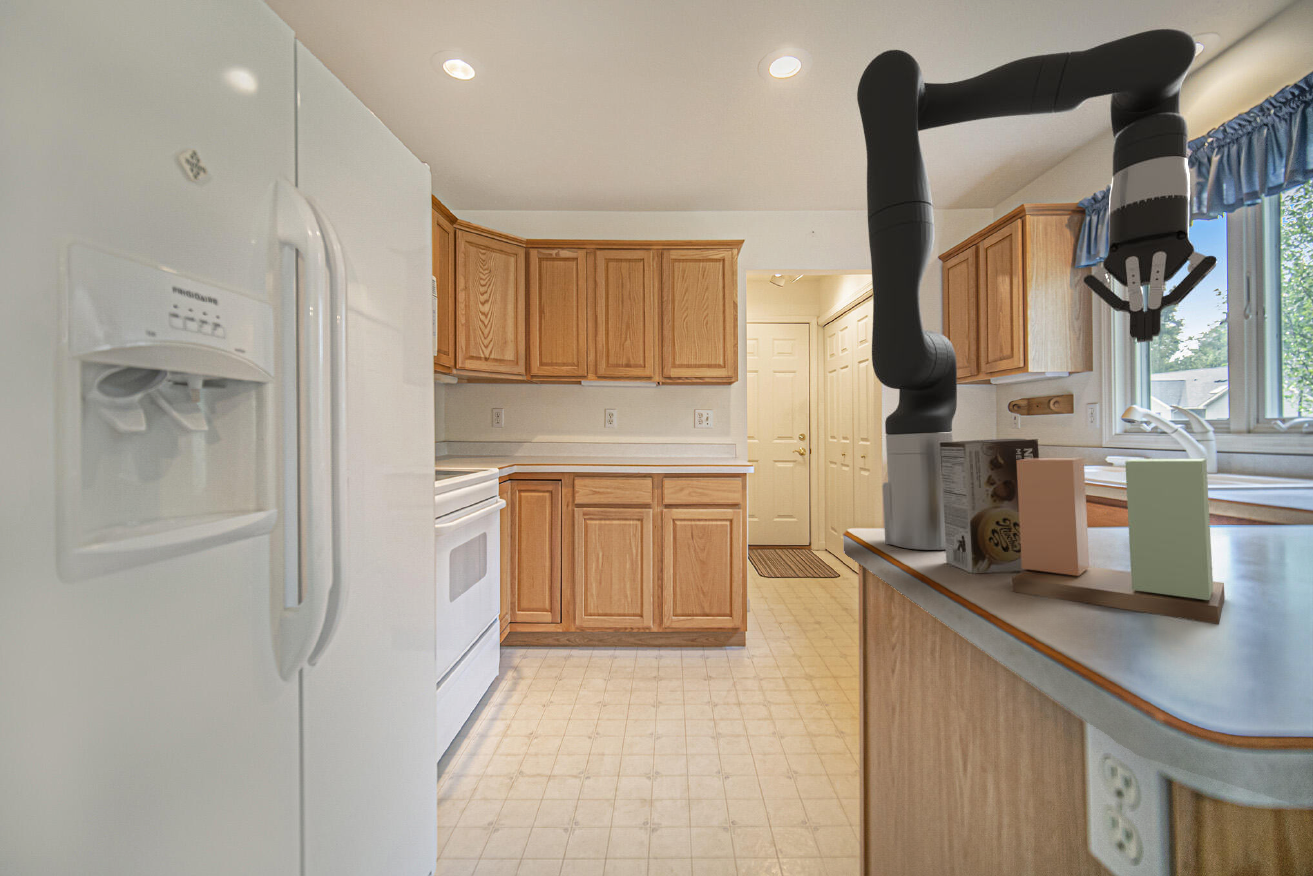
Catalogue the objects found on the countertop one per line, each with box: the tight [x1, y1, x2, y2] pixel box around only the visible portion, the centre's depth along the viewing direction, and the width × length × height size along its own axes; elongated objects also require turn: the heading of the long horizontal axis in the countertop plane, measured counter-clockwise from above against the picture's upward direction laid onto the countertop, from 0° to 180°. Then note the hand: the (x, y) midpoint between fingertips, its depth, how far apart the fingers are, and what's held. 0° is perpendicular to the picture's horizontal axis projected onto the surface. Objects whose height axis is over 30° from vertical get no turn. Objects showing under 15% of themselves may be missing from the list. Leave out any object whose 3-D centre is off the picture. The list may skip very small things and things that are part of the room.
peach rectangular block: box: [1017, 457, 1090, 576], centre depth 58 cm, size 5×5×12 cm
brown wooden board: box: [1011, 566, 1226, 625], centre depth 54 cm, size 15×10×2 cm, turn 41°
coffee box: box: [940, 438, 1040, 574], centre depth 67 cm, size 9×6×16 cm
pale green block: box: [1124, 458, 1214, 600], centre depth 49 cm, size 5×5×12 cm
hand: (1145, 341), depth 68 cm, fingers closed
